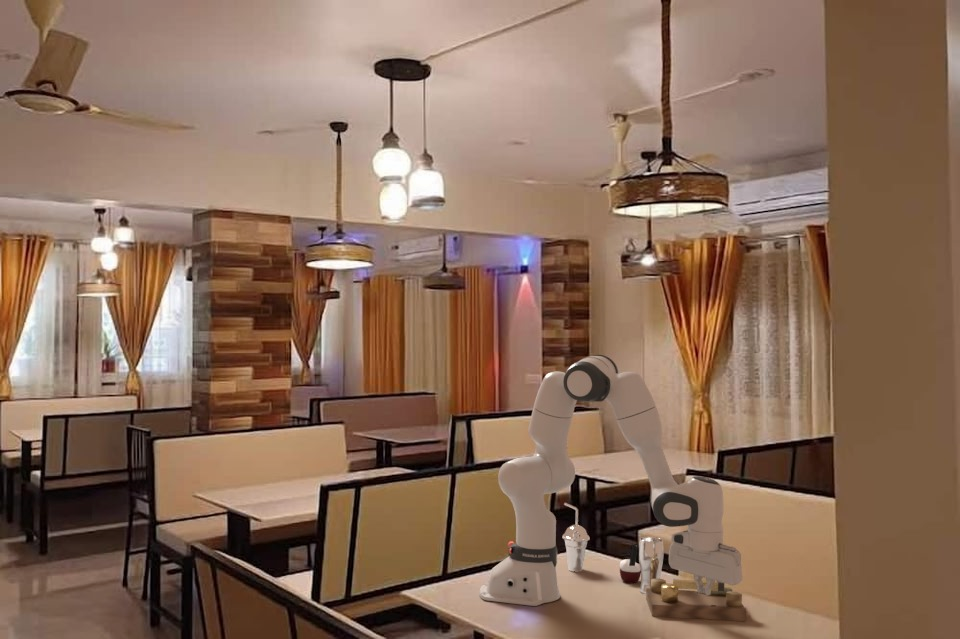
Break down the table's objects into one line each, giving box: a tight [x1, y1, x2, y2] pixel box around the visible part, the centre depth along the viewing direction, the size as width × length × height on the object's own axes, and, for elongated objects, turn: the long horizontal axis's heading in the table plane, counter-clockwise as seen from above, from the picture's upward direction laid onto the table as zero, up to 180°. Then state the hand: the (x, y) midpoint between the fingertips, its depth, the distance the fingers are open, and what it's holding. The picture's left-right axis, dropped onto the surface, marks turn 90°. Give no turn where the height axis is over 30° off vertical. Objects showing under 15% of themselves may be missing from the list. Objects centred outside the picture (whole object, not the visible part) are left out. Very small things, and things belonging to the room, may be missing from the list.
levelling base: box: [645, 578, 747, 622], centre depth 221 cm, size 24×14×6 cm, turn 85°
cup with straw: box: [562, 502, 590, 573], centre depth 257 cm, size 8×9×20 cm
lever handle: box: [661, 578, 725, 602], centre depth 218 cm, size 16×4×5 cm, turn 85°
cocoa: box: [619, 544, 641, 584], centre depth 245 cm, size 10×6×12 cm, turn 162°
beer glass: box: [638, 536, 665, 595], centre depth 236 cm, size 7×7×15 cm
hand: (704, 593), depth 213 cm, fingers closed
